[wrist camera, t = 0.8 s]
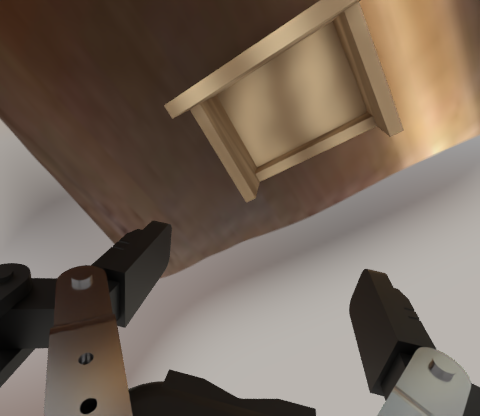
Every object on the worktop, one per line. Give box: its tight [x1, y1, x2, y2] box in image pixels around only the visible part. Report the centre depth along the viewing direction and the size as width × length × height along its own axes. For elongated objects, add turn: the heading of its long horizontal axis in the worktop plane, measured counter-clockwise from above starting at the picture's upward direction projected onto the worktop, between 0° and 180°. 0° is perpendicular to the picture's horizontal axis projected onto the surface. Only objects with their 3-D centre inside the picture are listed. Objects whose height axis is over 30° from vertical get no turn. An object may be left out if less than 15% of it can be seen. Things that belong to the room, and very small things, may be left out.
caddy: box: [164, 0, 404, 202], centre depth 24 cm, size 14×10×11 cm
